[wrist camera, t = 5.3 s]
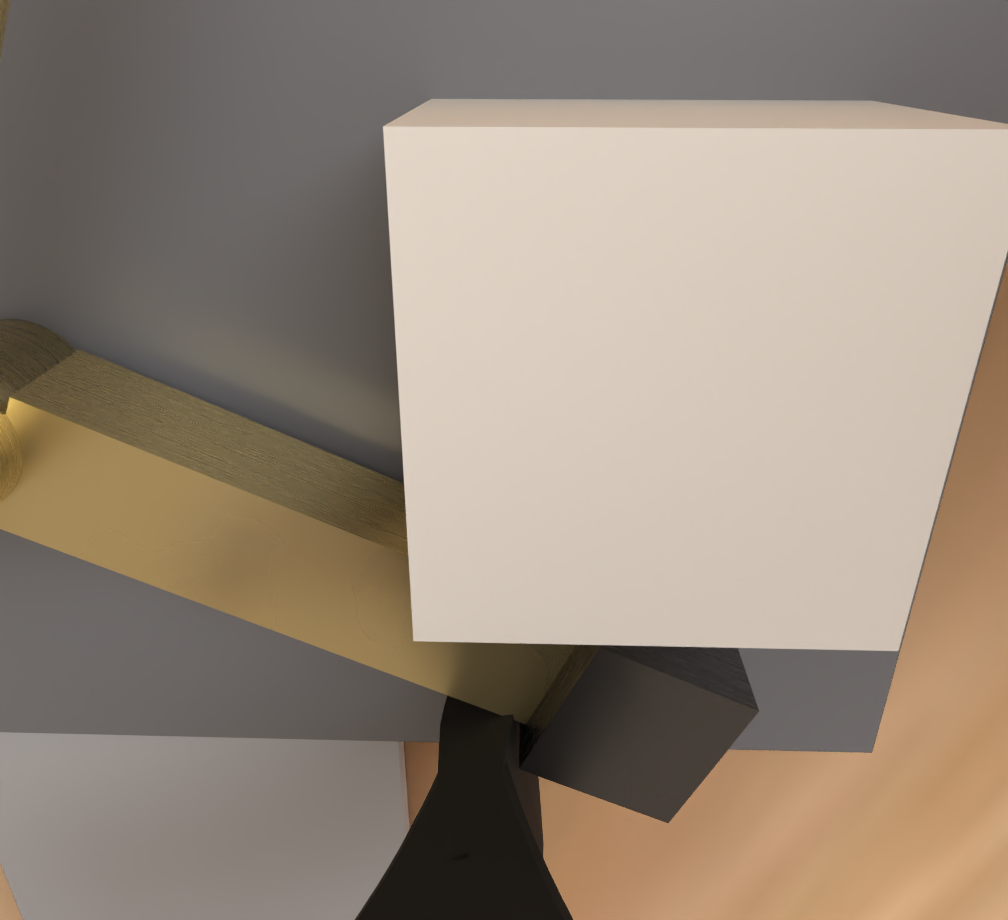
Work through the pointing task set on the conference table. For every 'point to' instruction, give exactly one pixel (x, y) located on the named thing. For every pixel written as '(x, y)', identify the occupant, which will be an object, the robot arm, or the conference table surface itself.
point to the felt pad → (197, 825)
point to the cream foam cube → (683, 362)
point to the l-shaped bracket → (328, 567)
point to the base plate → (343, 283)
